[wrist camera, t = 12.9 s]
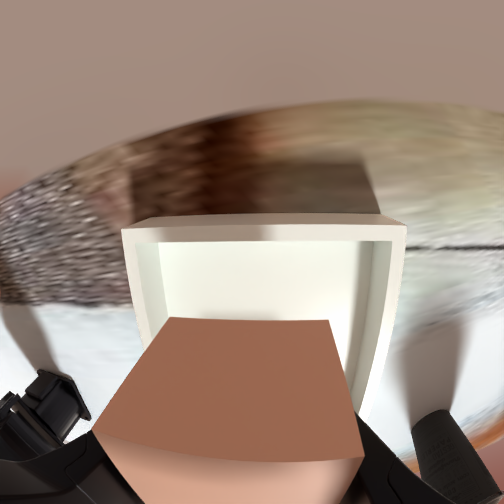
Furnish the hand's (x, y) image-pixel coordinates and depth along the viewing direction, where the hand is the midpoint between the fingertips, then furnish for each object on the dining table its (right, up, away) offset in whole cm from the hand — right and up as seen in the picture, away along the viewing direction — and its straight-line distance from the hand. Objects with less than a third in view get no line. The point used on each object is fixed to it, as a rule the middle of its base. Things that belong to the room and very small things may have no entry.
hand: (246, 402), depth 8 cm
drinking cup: (+20, -14, +13) cm, 27 cm away
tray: (+1, -1, +11) cm, 12 cm away
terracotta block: (0, 0, +1) cm, 1 cm away
